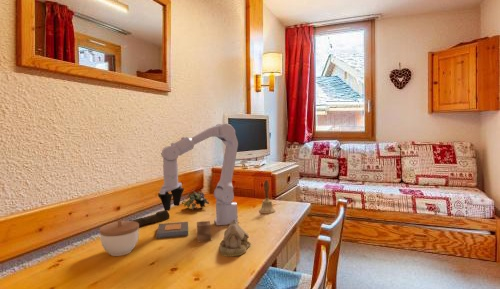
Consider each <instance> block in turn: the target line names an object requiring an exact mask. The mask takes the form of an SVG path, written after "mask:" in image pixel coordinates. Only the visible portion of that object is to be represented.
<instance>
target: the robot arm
mask: <svg viewBox="0 0 500 289" xmlns="http://www.w3.org/2000/svg"><path fill="white" fill-rule="evenodd" d="M212 137H213V138H214V137H216V138H217V139H219V140H221V142H222V143H223V144H224V145H225V149H224V155H223V161H222V166H221V167H222V168H221V174H220V176H219V178H220V179H219V181H218V182H217V184H216V188H215V189H214V192H213V196H214V198H215V199H216V201H215V214H216V215H215V218H214V222H215V226H226V225H227V226H228V225H230V224H231V223H232V221H233V220H236V223H237V224H239V222H238V204H237V202H236V201H233V200H234V199H235V194H234V186H233V182H232V181H233V177H234V170H235V164H236V159H237V153H238V148H239V141H238V138H237V136H236V129H235V128H234V126H232V124H229V123H218V124H216V125H213V126H211V127H207V128H206V129H204V130H202V131H201V132H199V133H197V134H195V135H194V136H192V137H188V136H182V137H181V138H180V140H178V141H175V142H172V143H171V142H170V145H167V146H164V147H163V149H162V150H161V153H160V156H161V158H162V163H163V164H162V170H163V171H162V172H163V174H162V175H163V185H161V188H159V192H158V193H157V196H158V198H159V199H160V202H161V203H162V206H163V211H164V210H165V211H168V212H169V211H171V206H172V205H171V203H172V201H173V206H174V207H176V206H178V207H179V206H180V204H181V198H182V194H183V192H184V190H185V188H184V187H182V186H183V184H182V182H179V174H178V172H179V171H178V170H179V169H178V157H179V156H180V157H181V156H182V155H184V154H186V153H188V152H189V151H190V152H191V151H192V150H194V147H195V145H196V144H199V143H201V142H203V141H205V140H208V139H209V138H212Z"/></svg>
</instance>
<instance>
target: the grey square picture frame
mask: <svg viewBox="0 0 500 289" xmlns="http://www.w3.org/2000/svg"><path fill="white" fill-rule="evenodd" d="M155 234H156V240H158V239H166V238H168V239H169V238H176V237H178V238H179V237H188V236H189V221H179V222H168V223H167V222H166V223H159V224H158V228H157V230H156V233H155Z"/></svg>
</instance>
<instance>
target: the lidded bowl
mask: <svg viewBox="0 0 500 289" xmlns="http://www.w3.org/2000/svg"><path fill="white" fill-rule="evenodd" d="M139 232H140V226H139V223H138V222H135V221H129V220H120V219H119V220H117V221H114V222H110V223H107V224H105V225H103V226H101V227H100V228H99V235H100V236H99V237H100V238H99V239H100V243H101V246H102V248H103V250H104V251H105V252H107V253H108V254H109V255H110V256H112V257H121V256H125V255H127V254H130V253H131V252H132V251H133V249H134V248H136V246H137V244H138V241H139V236H140V234H139Z"/></svg>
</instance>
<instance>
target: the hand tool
mask: <svg viewBox="0 0 500 289" xmlns="http://www.w3.org/2000/svg"><path fill="white" fill-rule="evenodd" d="M168 219H170V213H169V211H165V210H164V209H163V210H160V211H157V212H156V213H155V214H151V215H148V216H144V217H140V218H136V219H131V220H130V219H129V220H128V221H135V222H138V223H139V227H141V226H145V225H149V224H153V223H156V222H157V223H160V222H164V221H166V220H168Z"/></svg>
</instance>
